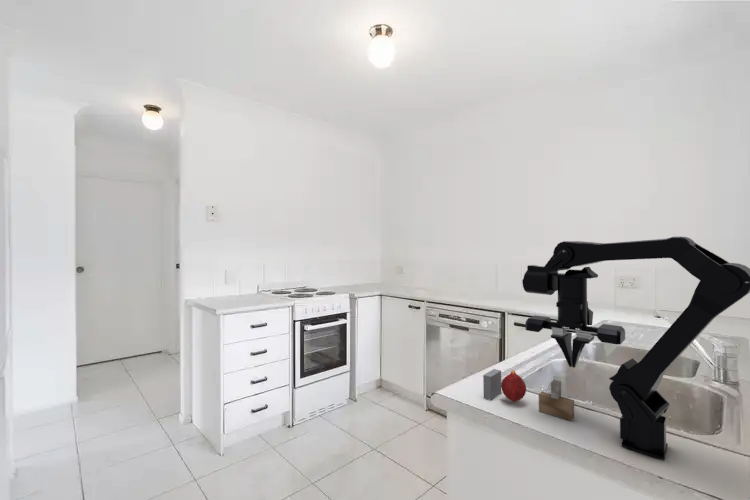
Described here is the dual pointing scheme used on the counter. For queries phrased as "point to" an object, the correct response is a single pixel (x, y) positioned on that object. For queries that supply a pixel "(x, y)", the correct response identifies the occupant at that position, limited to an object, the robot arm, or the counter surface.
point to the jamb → (492, 384)
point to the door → (556, 402)
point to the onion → (513, 387)
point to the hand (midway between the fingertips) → (572, 366)
